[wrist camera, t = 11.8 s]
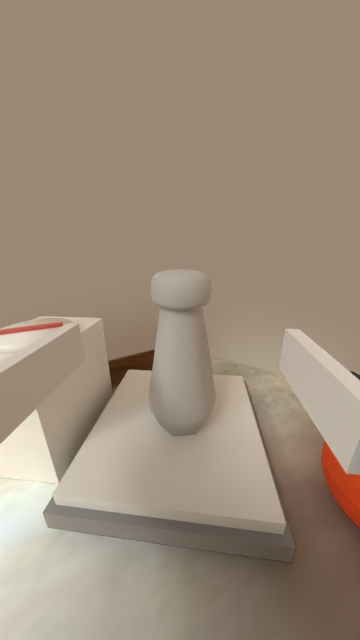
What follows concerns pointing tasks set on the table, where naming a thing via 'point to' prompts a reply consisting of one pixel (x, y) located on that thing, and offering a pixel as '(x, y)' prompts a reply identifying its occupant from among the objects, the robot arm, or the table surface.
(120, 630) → the table surface
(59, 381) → the robot arm
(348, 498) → the clementine
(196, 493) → the dial scale
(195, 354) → the salt shaker
